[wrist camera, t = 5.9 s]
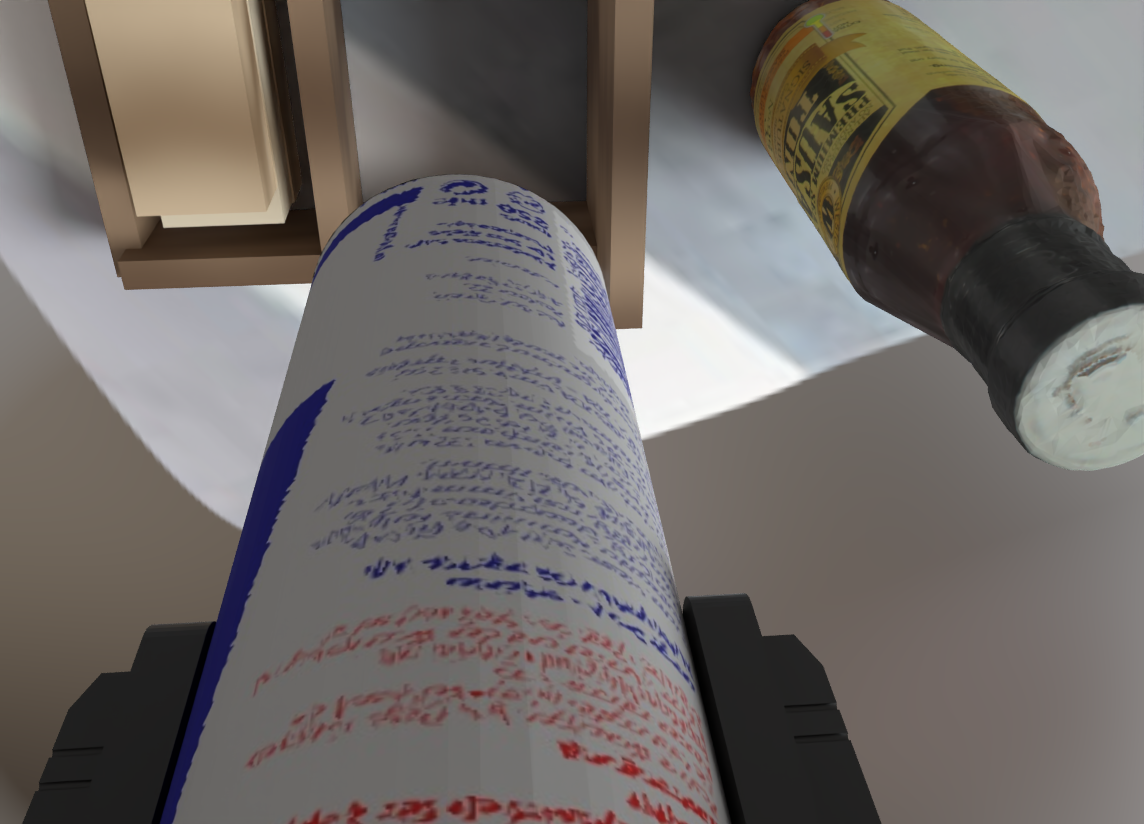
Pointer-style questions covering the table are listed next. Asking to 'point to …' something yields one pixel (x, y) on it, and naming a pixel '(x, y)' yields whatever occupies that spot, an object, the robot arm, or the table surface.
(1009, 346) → the sauce bottle
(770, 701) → the robot arm
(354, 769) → the beverage can
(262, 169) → the offcut stack
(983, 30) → the table surface
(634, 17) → the tray
